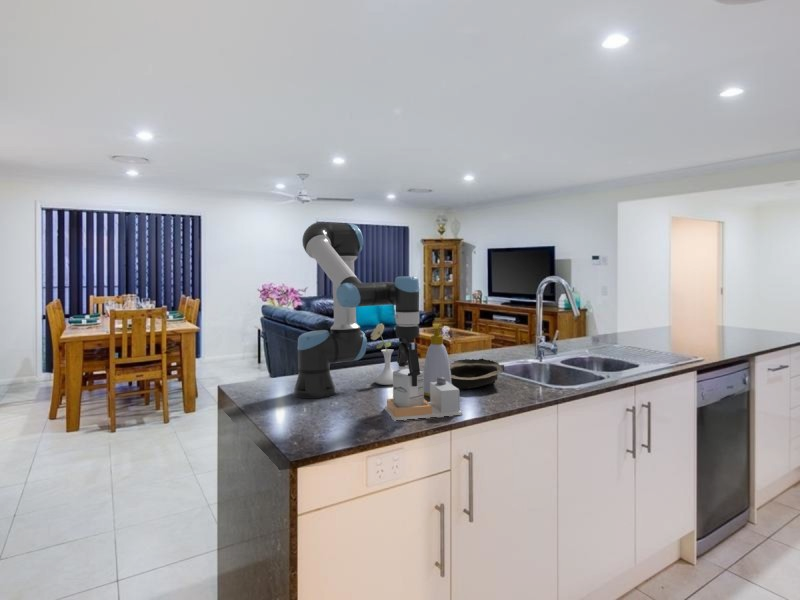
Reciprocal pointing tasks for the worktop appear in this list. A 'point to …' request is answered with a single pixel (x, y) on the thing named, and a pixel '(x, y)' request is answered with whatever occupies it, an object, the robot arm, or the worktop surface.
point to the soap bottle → (436, 361)
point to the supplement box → (406, 389)
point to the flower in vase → (387, 373)
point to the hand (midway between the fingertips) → (408, 390)
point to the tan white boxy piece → (430, 403)
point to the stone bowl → (474, 373)
